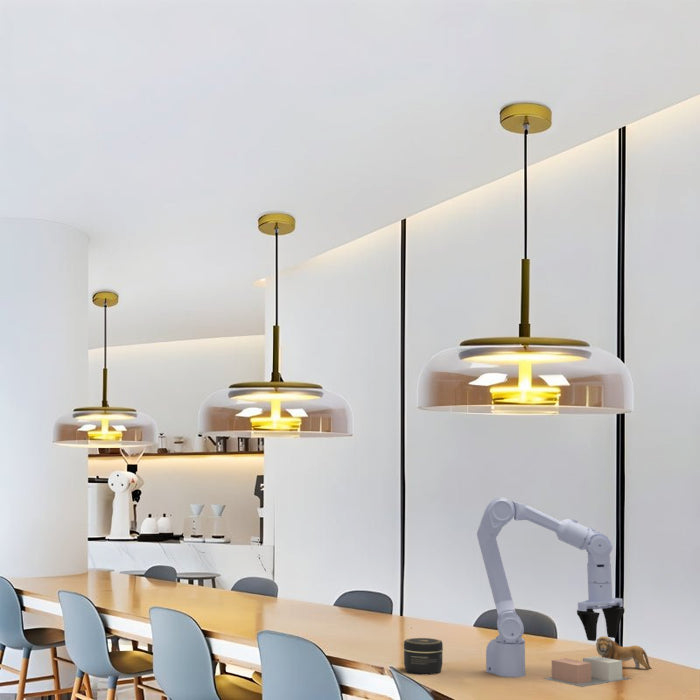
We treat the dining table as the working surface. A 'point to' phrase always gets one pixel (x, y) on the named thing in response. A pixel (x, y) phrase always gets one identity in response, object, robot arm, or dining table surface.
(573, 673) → the terracotta brick
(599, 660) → the cream brick
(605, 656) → the lion figurine
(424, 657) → the jar
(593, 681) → the baseplate
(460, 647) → the dining table surface
